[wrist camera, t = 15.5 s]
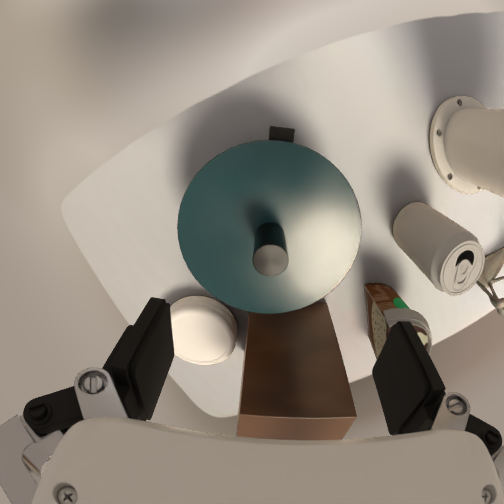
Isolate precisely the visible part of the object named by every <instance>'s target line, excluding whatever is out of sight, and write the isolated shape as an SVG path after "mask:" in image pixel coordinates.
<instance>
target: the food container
mask: <svg viewBox="0 0 504 504" xmlns="http://www.w3.org/2000/svg"><path fill="white" fill-rule="evenodd" d="M364 288H365V298H366V309H367V322H368V336H369V339H370V342H371V345H372V348H373V350H374V353H375V356H376V359H378V357H379V355H380V352H381V350H382V348H383V346H384V344H385V341H386V339H387V337H388V335H389V332H390V330H391V328H392V326H393V325H394V324H396V323H397V322H398V321H410V322H411V323H412V325H413V327H414V328H415V330H416V332H417V334H418V336H419V337H420V339H421V341H422V343H423V345H424V347H425V348H426V350H427V352H428V354H429V355H430V352H431V347H432V338H431V332H430V329H429V326H428V323H427V321H426V319H425V318H424V317H423V316H422V315H421V314H419V313H418V312H416V311H414V310H410V308H409V307H408V306H407V305H406V304H405V302H404V301H403V300H402V299H401V298H400V297H399V295H398V294H397V293H396V292H395V291H394V290H393V289H392V288H391V287H389V286H387V285H385V284H381V283H369V284H364Z"/></svg>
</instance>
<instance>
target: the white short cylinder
mask: <svg viewBox="0 0 504 504" xmlns="http://www.w3.org/2000/svg"><path fill="white" fill-rule="evenodd" d="M170 312H171V323H172V334H173V344H174V354H175V355H177V356H178V357H180V358H181V359H183V360H185V361H188V362H190V363H194V364H200V365H210V364H216V363H219V362H221V361H223V360H225V359H226V358H228V357H229V356H230V355H231V353H232V352H233V350H234V348H235V344H236V337H237V324H236V321H235V318H234V316H233V315H232V313H231V312H230V311H229V310H228V308H227V307H225V306H224V305H223V304H221V303H220V302H218V301H216V300H214V299H211V298H208V297H204V296H189V297H185V298H182V299H180V300H178V301H177V302H175V303H174V304H173V305H172V306H171V307H170Z"/></svg>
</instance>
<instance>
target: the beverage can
mask: <svg viewBox="0 0 504 504" xmlns="http://www.w3.org/2000/svg"><path fill="white" fill-rule="evenodd" d="M393 235H394V239H395V241H396V243H397V244H398V246H399V247H400V248H401V249H402V250H403V251H404V252H405V253H406V254H407V255H408V256H409V258H410V259H411V260H412V261H413V262H414V263H415V264H416V265H417V266H418V267H419V269H420V270H421V271H422V272H423V273H424V274H425V275H426V276H427V278H428V279H429V280H430V281H431V282H432V283H433V285H434V286H435V287H436V288H437V289H438V290H440V291H443V292H446V293H447V294H449V295H460V294H463V293H465V292H466V291H468V290H469V289H470V288H471V287H472V286H473V285H474V284H475V283H476V282H477V280H478V279H479V277H480V275H481V273H482V271H483V268H484V263H485V254H484V250H483V248H482V246H481V245H480V244H479V242H478V240H477V238H476V237H475V236H474V235H473V234H472V233H470V232H469V231H467V230H466V229H464V228H463V227H461V226H460V225H458V224H457V223H455V222H454V221H452V220H451V219H449V218H448V217H446V216H445V215H443V214H441V213H440V212H438V211H437V210H435V209H433V208H432V207H430V206H429V205H427V204H425V203H422V202H414V203H410V204H408V205H406V206H405V207H404V208H403V209H402V210H401V211H400V212H399V213H398V215H397V217H396V219H395V221H394V225H393Z"/></svg>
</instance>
